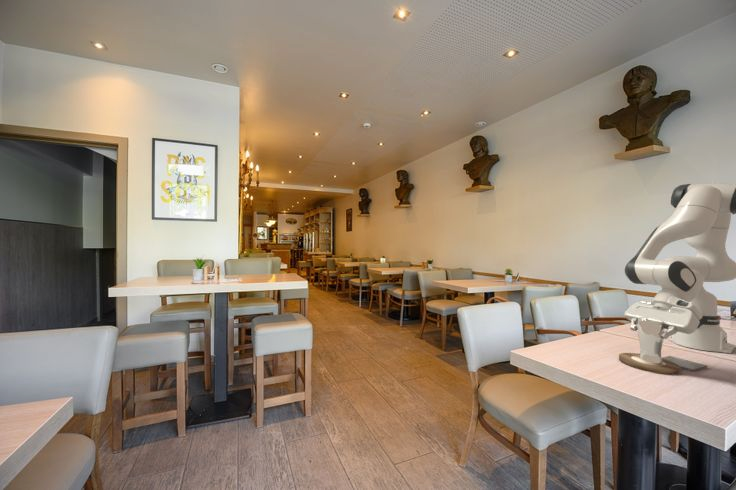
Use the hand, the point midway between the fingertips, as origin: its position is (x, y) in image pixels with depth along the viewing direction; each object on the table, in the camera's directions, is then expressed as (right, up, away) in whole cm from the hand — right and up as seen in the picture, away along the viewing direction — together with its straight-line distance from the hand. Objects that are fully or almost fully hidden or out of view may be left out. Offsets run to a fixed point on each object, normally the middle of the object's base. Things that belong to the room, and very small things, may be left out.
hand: (646, 333), depth 105 cm
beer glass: (+1, -10, -1) cm, 10 cm away
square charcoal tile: (+13, -12, +1) cm, 18 cm away
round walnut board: (+1, -11, 0) cm, 11 cm away
